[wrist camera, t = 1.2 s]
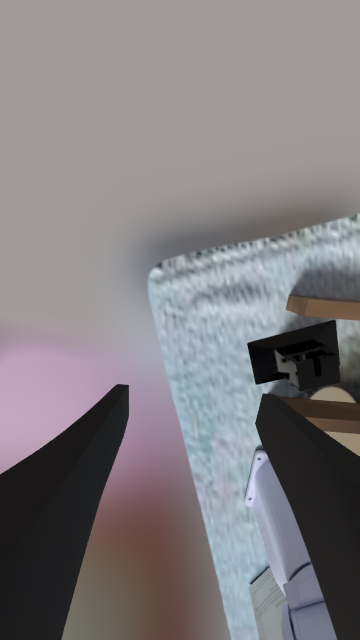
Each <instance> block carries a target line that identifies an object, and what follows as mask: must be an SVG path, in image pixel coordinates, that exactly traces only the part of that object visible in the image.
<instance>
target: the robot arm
mask: <svg viewBox="0 0 360 640" xmlns="http://www.w3.org/2000/svg"><path fill="white" fill-rule="evenodd" d="M128 417H129V385H122V384H117V385H116V386H114V387H113V388H112V389H111V390H110V391H109V392H108V393H107V394H106V395H105V396H104V397H103V398H102V399H101V400H100V401H99V402H98V403H96V404H95V405H94V406H93V407H92V408H91V409H90V410H89V411H88V412H86V413H85V414H84V415H83V416H82V417H81V418H79V419H78V420H77V421H76V422H74V423H73V424H72V425H71V426H70V427H68V428H67V429H66V430H65V431H63V432H62V433H61V434H60V435H58V436H57V437H56V438H54V439H53V440H51V441H50V442H49V443H47V444H46V445H45V446H43V447H42V448H40V449H39V450H37V451H36V452H34V453H33V454H32V455H30V456H28V457H27V458H25V459H24V460H22V461H21V462H19V463H18V464H16V465H15V466H13V467H11V468H10V469H8V470H7V471H5V472H3V473H2V474H0V640H61V639H62V635H63V631H64V627H65V623H66V619H67V615H68V612H69V608H70V605H71V601H72V597H73V594H74V590H75V586H76V583H77V579H78V575H79V572H80V568H81V564H82V561H83V557H84V554H85V550H86V547H87V543H88V540H89V536H90V533H91V529H92V526H93V523H94V519H95V516H96V512H97V509H98V505H99V502H100V499H101V496H102V493H103V490H104V487H105V485H106V482H107V479H108V477H109V474H110V471H111V469H112V466H113V463H114V461H115V458H116V455H117V453H118V450H119V447H120V445H121V442H122V439H123V436H124V433H125V429H126V425H127V421H128ZM255 424H256V428H257V431H258V434H259V437H260V440H261V443H262V445H263V447H264V450H265V451H262V450H258V451H256V452H255V456H254V460H253V465H252V469H251V474H250V478H249V483H248V487H247V492H246V496H245V500H244V502H245V505H246V506H249V507H253V510H254V514H255V517H256V520H257V524H258V527H259V531H260V534H261V538H262V541H263V545H264V548H265V552H266V555H267V558H268V562H269V565H270V568H271V571H272V574H273V576H274V578H275V580H276V582H277V584H278V586H279V587H280V589H281V590H282V592H283V593H284V595H285V596H286V598H287V602H288V603H286V604H284V605H283V607H282V619H281V630H282V637H283V640H360V456H358V455H356V454H355V453H353V452H352V451H350V450H349V449H347V448H346V447H345V446H343V445H342V444H340V443H339V442H337V441H336V440H335V439H333V438H332V437H330V436H329V435H328V434H326V433H325V432H324V431H322V430H321V429H319V428H318V427H317V426H315V425H314V424H313V423H311V422H310V421H309V420H308V419H306V418H305V417H304V416H302V415H301V414H300V413H298V412H297V411H296V410H295V409H293V408H292V407H291V406H289V405H288V404H287V403H286V402H284V401H283V400H282V399H280V398H279V397H277V396H276V395H274V394H264V393H263V395H262V399H261V403H260V407H259V411H258V415H257V418H256V422H255Z"/></svg>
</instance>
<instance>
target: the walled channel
mask: <svg viewBox="0 0 360 640" xmlns="http://www.w3.org/2000/svg"><path fill="white" fill-rule="evenodd" d="M286 310H288V311H291V312H294V313H297V314H299V315H302V316H307V317H320V318H333V319H346V320H359V321H360V301H358V300H345V299H332V298H319V297H306V296H292V295H289V298H288V303H287V307H286ZM279 398H280V399H282V400H283V401H284V402H286V403H287V404H288V405H289V406H291V407H292V408H293V409H295V410H296V411H297V412H298V413H300V414H301V415H302V416H304V417H305V418H306V419H308V420H309V421H310V422H311V423H313V424H314V425H315V426H317V427H318V428H319V429H321V430H322V431H330V432H343V433H355V434H360V403H348V402H336V401H323V400H311V399H298V398H286V397H279Z"/></svg>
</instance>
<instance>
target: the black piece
mask: <svg viewBox="0 0 360 640" xmlns="http://www.w3.org/2000/svg"><path fill="white" fill-rule="evenodd" d="M247 345H248V350H249V355H250V359H251V364H252V369H253V374H254V379H255V383H256V385H258V384H262V383H267V382H271V381H276V380H280V379H284V380H286V381H287V382H288V383H289V384H290V385H291V386H295V387H296V388H297V389H298V390H299V391H304V390H309V389H313V388H317V387H322V386H326V385H331V384H335V383H340V372H339V366H340V359H339V349H338V339H337V330H336V321H335V320H332V321H328V322H324V323H320V324H317V325H313V326H309V327H305V328H301V329H298V330H294V331H290V332H286V333H283V334H279V335H275V336H271V337H268V338H264V339H260V340H256V341H253V342H249V343H248V344H247Z"/></svg>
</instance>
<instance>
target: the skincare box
mask: <svg viewBox="0 0 360 640" xmlns="http://www.w3.org/2000/svg"><path fill="white" fill-rule="evenodd" d="M249 590H250V595H251V600H252V605H253V610H254V615H255V620H256V625H257V629H258V634H259V639H260V640H283V637H282V630H281V619H282V607H283V605H284V604H286V603H288V602H287V598H286V596H285V595H284V593H283V592H282V590H281V589H280V587H279V586H278V584H277V582H276V580H275V578H274V576H273V574H272V571H271V568H270V567H269V568H268V569H267V570H266V571H265V572H264V573H263V574H262V575H261V576H260V577H259V578H258V579H257V580H256V581H255V582H253V583H252V584H251V585H250V586H249Z"/></svg>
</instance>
